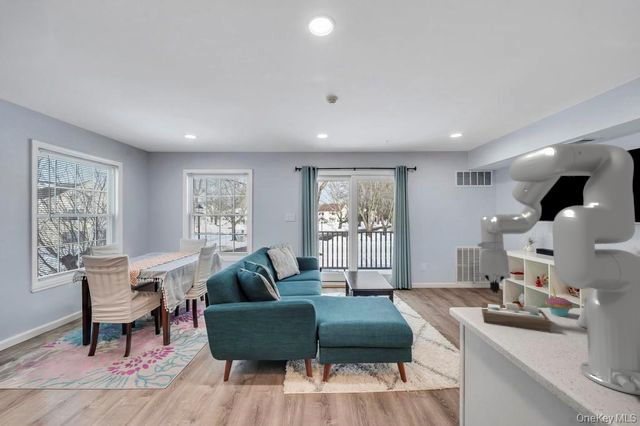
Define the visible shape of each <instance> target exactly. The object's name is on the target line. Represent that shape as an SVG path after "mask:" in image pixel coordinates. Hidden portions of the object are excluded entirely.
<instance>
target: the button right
mask: <svg viewBox="0 0 640 426" xmlns="http://www.w3.org/2000/svg"><path fill="white" fill-rule="evenodd" d="M523 308H524V311H526V312H535V313H539V307H538V306H537V305H531V304H523Z"/></svg>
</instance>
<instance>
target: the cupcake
mask: <svg viewBox="0 0 640 426" xmlns="http://www.w3.org/2000/svg"><path fill="white" fill-rule="evenodd" d="M551 290H552V294H553V296H552V297H551V296H550V297H548V298H546V299H545V306H547V307H548V308H549V311H550V313H551V315H553V314H555V315H554V316H556V315H558V316H557V317H562V316H565V317H567V316H568V313H569V311H570V310H573V308H574V306H573V303H572V302H571V301H569V300H568V299H566V298H564V297H559V296H558V297H557V295H556V291H555V287H554V286H553V285H552V287H551Z"/></svg>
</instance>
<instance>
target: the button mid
mask: <svg viewBox="0 0 640 426" xmlns="http://www.w3.org/2000/svg"><path fill="white" fill-rule="evenodd" d="M504 305H505V308H506V309H510V310H518V311H519V307H520V306H519V304H518V303H513V302H512V303H511V302H505V303H504Z"/></svg>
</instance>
